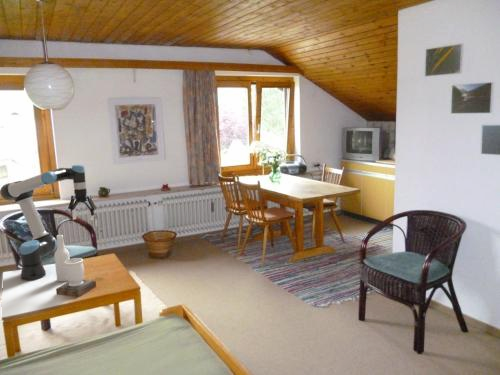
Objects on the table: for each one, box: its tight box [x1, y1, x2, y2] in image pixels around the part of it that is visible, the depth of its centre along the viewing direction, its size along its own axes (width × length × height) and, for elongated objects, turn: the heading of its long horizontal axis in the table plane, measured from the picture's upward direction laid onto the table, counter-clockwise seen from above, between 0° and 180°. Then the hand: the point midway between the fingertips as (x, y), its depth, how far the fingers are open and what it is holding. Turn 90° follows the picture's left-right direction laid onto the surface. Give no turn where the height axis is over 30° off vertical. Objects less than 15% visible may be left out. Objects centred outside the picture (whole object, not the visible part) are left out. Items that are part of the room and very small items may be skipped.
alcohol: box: [53, 234, 71, 283], centre depth 279 cm, size 9×9×30 cm
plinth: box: [55, 279, 97, 298], centre depth 263 cm, size 16×16×4 cm
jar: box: [65, 257, 85, 287], centre depth 261 cm, size 11×10×15 cm
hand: (83, 219), depth 287 cm, fingers open, 13 cm apart
